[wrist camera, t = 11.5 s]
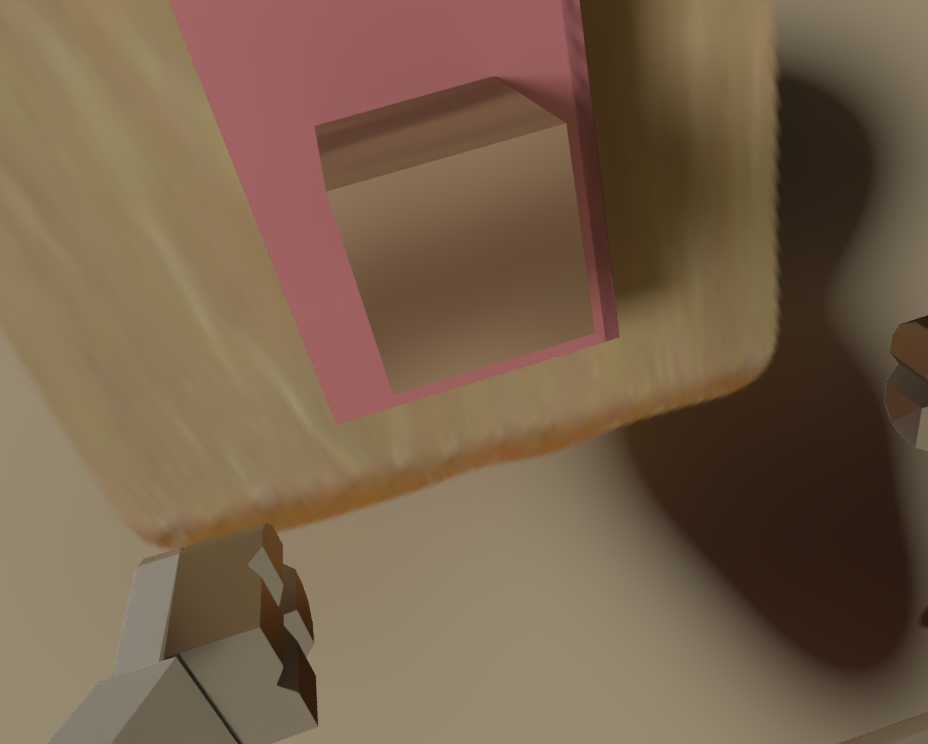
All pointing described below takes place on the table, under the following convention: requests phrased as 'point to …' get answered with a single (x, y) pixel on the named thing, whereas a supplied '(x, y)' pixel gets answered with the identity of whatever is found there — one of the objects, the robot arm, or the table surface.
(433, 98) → the walnut block
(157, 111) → the table surface
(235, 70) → the book
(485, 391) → the table surface
